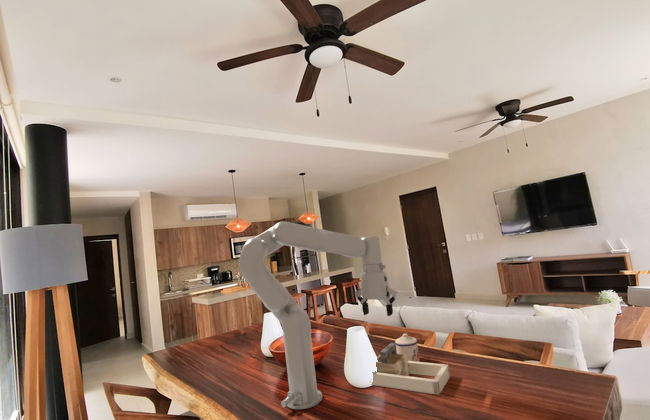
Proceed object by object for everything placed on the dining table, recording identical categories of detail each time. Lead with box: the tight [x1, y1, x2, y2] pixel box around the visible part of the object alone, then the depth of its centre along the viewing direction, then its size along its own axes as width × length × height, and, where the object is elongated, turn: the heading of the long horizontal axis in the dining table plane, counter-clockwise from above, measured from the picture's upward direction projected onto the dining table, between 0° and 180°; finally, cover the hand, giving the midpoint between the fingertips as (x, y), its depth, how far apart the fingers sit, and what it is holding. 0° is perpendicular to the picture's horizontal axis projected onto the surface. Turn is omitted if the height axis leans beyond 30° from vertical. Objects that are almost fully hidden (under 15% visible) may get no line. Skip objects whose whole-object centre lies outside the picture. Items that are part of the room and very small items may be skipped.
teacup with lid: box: [394, 333, 421, 362], centre depth 137 cm, size 12×9×12 cm
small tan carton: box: [376, 342, 411, 376], centre depth 121 cm, size 10×10×11 cm
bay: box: [370, 361, 451, 396], centre depth 117 cm, size 16×24×5 cm, turn 56°
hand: (377, 314), depth 123 cm, fingers open, 9 cm apart
